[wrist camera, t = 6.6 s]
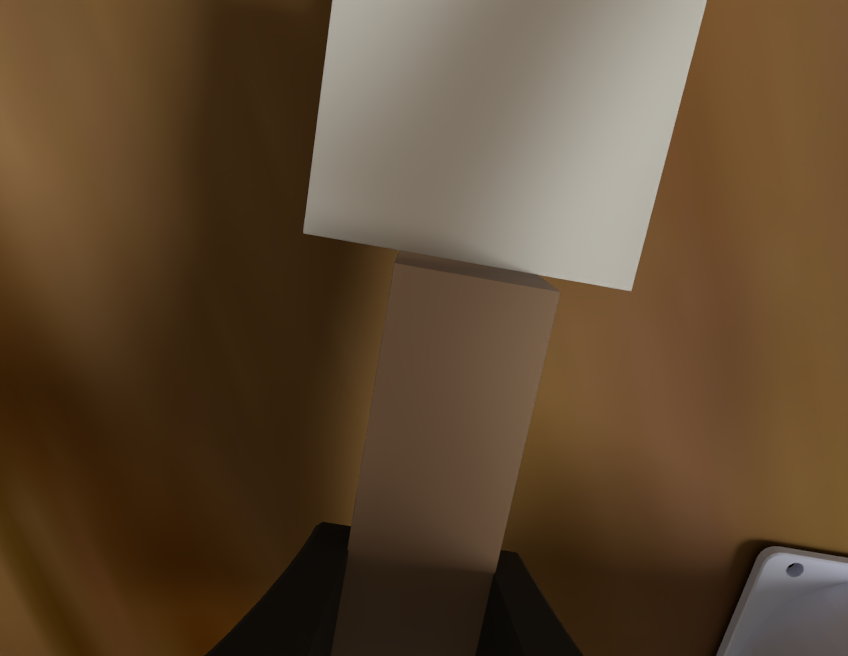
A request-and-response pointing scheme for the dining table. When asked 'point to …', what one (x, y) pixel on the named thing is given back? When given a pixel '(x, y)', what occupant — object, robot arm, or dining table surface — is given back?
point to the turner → (477, 259)
